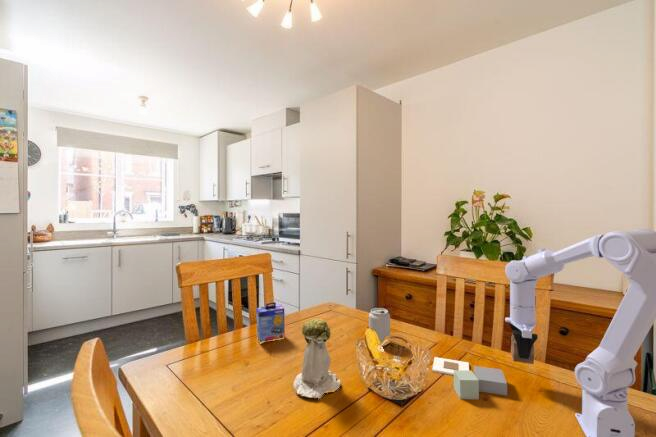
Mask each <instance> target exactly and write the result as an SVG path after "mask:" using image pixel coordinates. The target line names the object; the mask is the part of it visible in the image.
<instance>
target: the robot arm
mask: <svg viewBox="0 0 656 437" xmlns="http://www.w3.org/2000/svg"><path fill="white" fill-rule="evenodd" d="M591 257H594V258H595V257H596V258H604V259H605V260H606V261H607V262H608V263H610V264H611V265H612V266H613V267H614V268H616V269H617V270H618V271H619V272H620V273H622V274H623V275H624V276H625V277H626V279H627V280H628V282H629V286H628V288H627V290H626V292H625V294H624V296H623V298H622V300H621V302H620V304H619V306H618V308H617V310H616V312H615V313H614V316H613V317H612V319H611V321H610V324H609V325H608V327H607V329H606V332H605V333H604V335H603V338H602V339H601V341H600V343H599V345H598V346H597V347H596V348H595V349H594V350H593V351H592V352H591V353H589V354H588V355H587V356H586V358H585V360H584V361H583V362H580V363H577V365H576V366H575V368H574V376H575V380H576V382H578V384H579V385H580V387H581V390H582V391H581V396H582V398H581V413H578V412H576V413H575V414H574V416H575V418H576V420H577V422H578V423H579V424H578V425H579V426H580V427H581V429H582V432H583V433H584V435H585V436H586V437H635V436H636V424H635V420H634V418H633V416H632V415H631V413H630V411H629V408H628V399H629V398H628V395H629V393H628V389H629V387H632V386H633V385H634V384H635V382H636V372H635V370H636V368H637V366H638V362H637V361H636V360H635V359H634V358H635V357H636V355H637V353H638V351H639V349H640V348H641V346H642V344H643V342H644V340H645V339H646V337H647V335H648V333H649V332H650V331H651V328H652V326H653V324H654V323H655V321H656V231H655V230H652V229H648V228H639V229H634V230H625V231H621V230H616V231H615V230H613V231H610V232H607V233H604V234H599V235H594V236H592V237H589V238H586V239H583V240H581V241H580V242H577V243H574V244H573V245H570V246H567V247H565V248H562V249H560V250H553V249H547V248H540V249H538V250H537V253H535V254H532V255H530V256H529V255H525V256H522V259H521V260H510V262H509V261H508V263H507V264H505V269H504V272H505V276H506V277H507V279H508V280H509V281H510V282H509V288H510V289H509V313H510V314H509V316H508V317H505V318H504V320H505V322H506V323H508V325H509V327H510V328H511V333H512V336H514V338H515V340H516V344H517V350H518V355H519V358H524V359H529V356H530V353H531V349H532V346H533V345H534V344H535V342H536V341H537V340H538V337H539V336H538V335H537V334H538V333H537V334H536V333H533V330H534V329H535V327H536V326H537V321H536V287H537V283H538V280H539V279H540V278H542V277H546V276H550V275H554V274H557V273H559V272H562V271H563V269H564V266H565V265H566V264H569V263H572V262H576V261H580V260H584V259H588V258H591Z"/></svg>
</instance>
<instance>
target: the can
mask: <svg viewBox="0 0 656 437" xmlns="http://www.w3.org/2000/svg"><path fill="white" fill-rule="evenodd" d="M369 328H372V329H373V330H374V331H375V332H376V333H377V335H378V338H379V340H380V342H381V343H382V342H383V341H384V339H385V337H386V336H389V335H390V336H391V315H390V313H389V311H388V309H386V308H382V307H375V308H372V309H370V313H369V314H368V329H369Z"/></svg>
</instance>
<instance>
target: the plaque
mask: <svg viewBox="0 0 656 437" xmlns="http://www.w3.org/2000/svg"><path fill="white" fill-rule="evenodd" d="M454 370H467V371H470V362H468V361H461V360H456V359H449V358H443V357H436V356H434V359H433V364H432V369H431V371H432V373H433V372H434V373H439V374H444V375H449V376H450V375H451V376H454Z"/></svg>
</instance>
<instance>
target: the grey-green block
mask: <svg viewBox="0 0 656 437" xmlns="http://www.w3.org/2000/svg"><path fill="white" fill-rule="evenodd" d="M453 389H454V391H455V392H456V395H457V396H458V398H459V400H479V399H480V397H479V396H480V394H479V393H480V391H479V380H478V379H477V377H476V376H475V375H474V371H472V370H469V371H467V370H454V375H453Z"/></svg>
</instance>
